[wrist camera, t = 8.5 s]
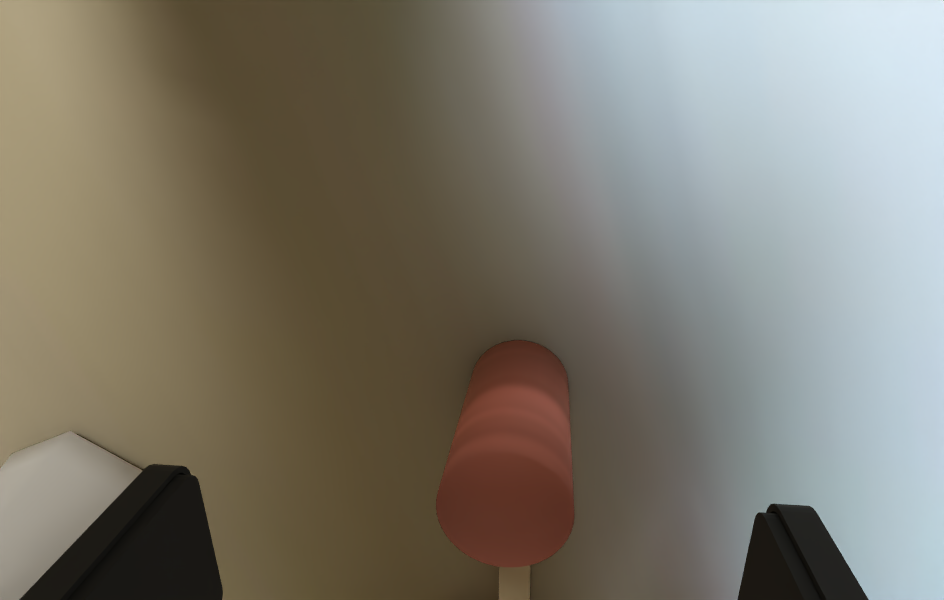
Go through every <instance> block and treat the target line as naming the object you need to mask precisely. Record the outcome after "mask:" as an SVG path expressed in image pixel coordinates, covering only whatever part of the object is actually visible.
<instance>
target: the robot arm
mask: <svg viewBox="0 0 944 600" xmlns="http://www.w3.org/2000/svg"><path fill="white" fill-rule="evenodd" d="M222 595H223V590H222V584H221V579H220V575H219V570H218V566H217V562H216V557H215V553H214V548H213V544H212V539H211V535H210V530H209V526H208V521H207V517H206V512H205V508H204V503H203V499H202V494H201V490H200V486H199V482H198V479H197V478H196V477H195V476H193V475H191V474H190V471H189V470H188V469H187V467H184V466H174V465H158V464H153V465H149V466H148V467H146V468H145V469H144V470H143V471H142V472H141V473H140V474H139V475H138V476H137V477H136V478H135V479H134V480H133V481H132V482H131V483H130V485H129V486H128V487H127V488H126V489H125V490H124V491H123V492H122V493H121V494H120V495H119V496H118V497H117V498H116V499H115V500H114V501H113V502H112V503H111V504H110V505H109V506H108V507H107V509H106V510H105V511H104V512H103V513H102V514H101V515H100V516H99V517H98V518H97V519H96V520H95V521H94V522H93V523H92V524H91V525H90V526H89V527H88V528H87V529H86V530H85V531H84V533H83V534H82V535H81V536H80V537H79V538H78V539H77V540H76V541H75V542H74V543H73V544H72V545H71V546H70V547H69V548H68V549H67V550H66V551H65V552H64V553H63V554H62V556H61V557H60V558H59V559H58V560H57V561H56V562H55V563H54V564H53V565H52V566H51V567H50V568H49V569H48V570H47V571H46V572H45V573H44V574H43V575H42V576H41V577H40V578H39V580H38V581H37V582H36V583H35V584H34V585H33V586H32V587H31V588H30V589H29V590H28V591H27V592H26V593H25V594H24V595H23V596H22V597H21V598H20V599H19V600H222ZM738 600H868V598H867V596H866V595H865V593H864V591H863V590H862V588H861V586H860V585H859V583H858V581H857V580H856V578H855V576H854V575H853V573H852V571H851V570H850V568H849V566H848V565H847V563H846V561H845V559H844V558H843V556H842V554H841V553H840V551H839V549H838V548H837V546H836V544H835V543H834V541H833V539H832V538H831V536H830V534H829V533H828V531H827V529H826V528H825V526H824V524H823V523H822V521H821V519H820V518H819V516H818V514H817V513H816V511H815V510H814V509H813V508H812V507H810V506H800V505H784V504H770V506H769V507H768V509H767V512H766V513H758V514H757V515H756V517H755V521H754V525H753V530H752V535H751V539H750V544H749V549H748V553H747V558H746V563H745V567H744V572H743V577H742V582H741V586H740V591H739V596H738Z"/></svg>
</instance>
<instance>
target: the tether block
mask: <svg viewBox="0 0 944 600" xmlns="http://www.w3.org/2000/svg"><path fill="white" fill-rule="evenodd" d="M436 510H437V516H438V520H439V523H440V525H441V527H442V529H443V531H444V533H445V534H446V536H447V537H448V538H449V540H450V541H451V542H452V543H453V544H454V545H455V546H456V547H457V548H458V549H459V550H461V551H462V552H463V553H465V554H466V555H468V556H470V557H471V558H473V559H476V560H478V561H480V562H483V563H486V564H489V565H493V566H499V600H530V567H531V565H532V564H536V563H539V562H541V561H543V560H545V559H547V558H549V557H550V556H552V555H553V554H554V553H556V552H557V551H558V550H559V549H560V548H561V547H562V546H563V545H564V544H565V542H566V541H567V539H568V537H569V535H570V533H571V531H572V528H573V524H574V494H573V472H572V451H571V430H570V408H569V387H568V377H567V374H566V371H565V368H564V366H563V365H562V363H561V362H560V360H559V359H558V358H557V357H556V356H555V355H554V354H553V353H552V352H551V351H550V350H548V349H547V348H545V347H543V346H541V345H539V344H536V343H533V342H529V341H522V340H513V341H507V342H503V343H500V344H498V345H495V346H494V347H492V348H490V349H489V350H487V351H486V352H485V353H484V354H483V355H482V356H481V357H480V359H479V360H478V361H477V363H476V365H475V367H474V370H473V373H472V376H471V380H470V383H469V387H468V390H467V394H466V397H465V400H464V404H463V407H462V411H461V414H460V418H459V421H458V425H457V428H456V431H455V435H454V438H453V442H452V445H451V449H450V452H449V455H448V459H447V462H446V466H445V469H444V473H443V476H442V479H441V483H440V486H439V490H438V494H437V499H436Z"/></svg>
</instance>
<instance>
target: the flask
mask: <svg viewBox="0 0 944 600" xmlns="http://www.w3.org/2000/svg"><path fill="white" fill-rule="evenodd" d="M141 472H142V470H141V469H139V468H137V467H135V466H133V465H132V464H130V463H128V462H126V461H124V460H122V459H121V458H119V457H117V456H115V455H113V454H111V453H110V452H108V451H106V450H104V449H102V448H100V447H99V446H97V445H95V444H93V443H91V442H90V441H88V440H86V439H84V438H82V437H80V436H79V435H77V434H75V433H73V432H71V431H69V432H66V433H64V434H61V435H58V436H56V437H53V438H51V439H48V440H45V441H43V442H40V443H38V444H35V445H32V446H30V447H27V448H25V449H22V450H19V451H17V452H14V453H12V454H11V455H10V457H9V458H8V459H7V461H6V462H5V463H4V465H3V466H2V467H1V469H0V600H19V599H20V598H21V597H22V596H23V595H24V594H25V593H26V592H27V591H28V590H29V589H30V588H31V587H32V586H33V585H34V584H35V583H36V582H37V581H38V580H39V578H40V577H41V576H42V575H43V574H44V573H45V572H46V571H47V570H48V569H49V568H50V567H51V566H52V565H53V564H54V563H55V562H56V561H57V560H58V559H59V558H60V557H61V556H62V554H63V553H64V552H65V551H66V550H67V549H68V548H69V547H70V546H71V545H72V544H73V543H74V542H75V541H76V540H77V539H78V538H79V537H80V536H81V535H82V534H83V533H84V531H85V530H86V529H87V528H88V527H89V526H90V525H91V524H92V523H93V522H94V521H95V520H96V519H97V518H98V517H99V516H100V515H101V514H102V513H103V512H104V511H105V510H106V509H107V507H108V506H109V505H110V504H111V503H112V502H113V501H114V500H115V499H116V498H117V497H118V496H119V495H120V494H121V493H122V492H123V491H124V490H125V489H126V488H127V487H128V486H129V485H130V483H131V482H132V481H133V480H134V479H135V478H136V477H137V476H138V475H139V474H140V473H141Z"/></svg>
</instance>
